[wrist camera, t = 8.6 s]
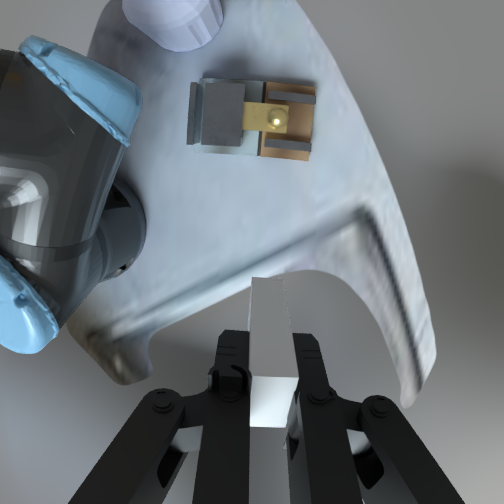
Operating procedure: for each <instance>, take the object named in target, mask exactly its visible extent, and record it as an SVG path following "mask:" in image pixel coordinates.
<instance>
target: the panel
mask: <svg viewBox="0 0 504 504" xmlns="http://www.w3.org/2000/svg"><path fill="white" fill-rule="evenodd" d="M205 82H209V83H237V84H245V85H246V89H247V91H246V98H244V102H255V103H267V104H277V105H287V106H289V109H288V115H289V120H288V123H287V131H286V133H277V132H267V131H255V130H242V133H241V136H243V140H242V145H241V147H233V146H215V145H201V134H202V119H203V105H204V93H205ZM199 85H201V86H202V87H203V88H204V92H203V105H202V119H201V134H200V143H196V144H195V150H194V152H196V153H218V154H235V155H249V156H262V157H273V158H283V159H293V160H302V161H308V159H309V152H308V151H299V150H290V149H281V148H270V147H264V139H265V138H270V139H280V140H289V141H298V142H307V143H310V140H311V130H312V120H313V109H314V105H310V104H303V103H295V102H287V101H277V100H268V93H269V90H271V91H281V92H290V93H298V94H306V95H313V96H315V87H310V86H303V85H295V84H287V83H278V82H263V81H255V80H240V79H214V78H200V79H199Z"/></svg>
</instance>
